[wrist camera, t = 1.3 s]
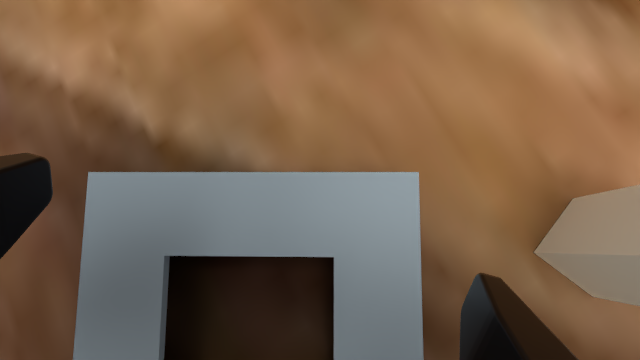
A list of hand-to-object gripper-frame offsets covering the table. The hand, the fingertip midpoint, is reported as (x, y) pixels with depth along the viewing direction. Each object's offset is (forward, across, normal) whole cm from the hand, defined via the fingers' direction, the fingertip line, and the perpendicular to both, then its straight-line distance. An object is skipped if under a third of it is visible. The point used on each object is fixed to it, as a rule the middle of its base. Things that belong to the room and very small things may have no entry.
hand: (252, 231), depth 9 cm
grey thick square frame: (+9, +1, +12) cm, 15 cm away
